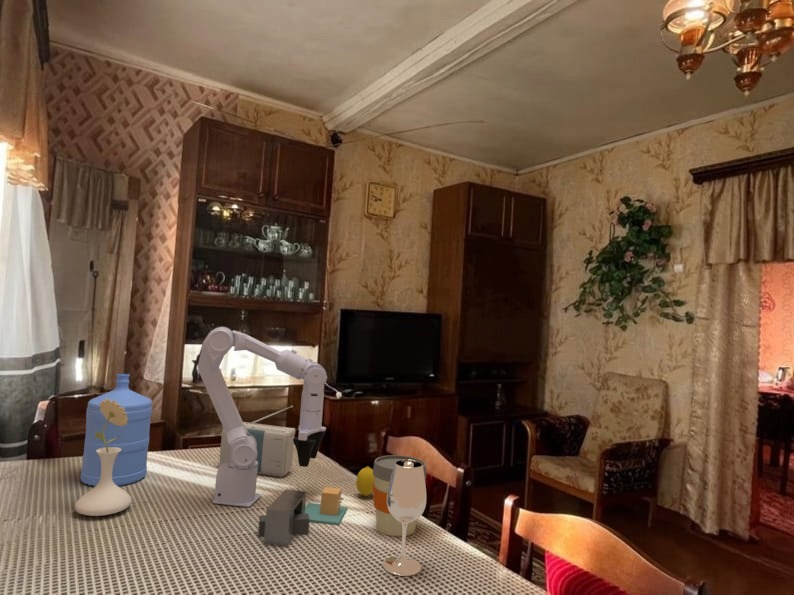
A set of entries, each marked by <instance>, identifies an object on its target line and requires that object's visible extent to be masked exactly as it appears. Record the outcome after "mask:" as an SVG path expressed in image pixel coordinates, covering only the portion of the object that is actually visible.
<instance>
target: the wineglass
mask: <svg viewBox="0 0 794 595" xmlns="http://www.w3.org/2000/svg"><path fill="white" fill-rule="evenodd" d="M426 485H427V484H426V479H425V477H424V470H423V464H422V463H421V462H418V461H414V460H398V461H396V462H395V464H394V468H393V471H392V475H391V478H390V482H389V486H388V492H387V507H388V510H389V512H390V514H391V515H392V516H393V517H394V518H395V519H396V520H397V521H399V522H401V523H402V536H401V550H400V551H401V552H400V555H395V556H390V557H388V558H386V559H384V560H383V561H382V567H383V569H384V571H386V572H387V573H389V574H392V575H395V576H400V577H410V576H415V575H417V574H418V573H420V572H421V571H422V565H421V563H420V562H419V561H418V560H416V559H414V558H412V557H410V556H406V539H407V536H406V530H407V526H408V523H411V522H413V521H415V520H416V519H417V520H418V519H419V518H420V517H421V516H422V515H423V513H424V511H425V509H426V505H427V488H426Z"/></svg>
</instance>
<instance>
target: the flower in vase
mask: <svg viewBox="0 0 794 595" xmlns="http://www.w3.org/2000/svg"><path fill="white" fill-rule="evenodd" d="M120 407H121V406H120V405H119V404H117V403H116V401H115V400H113V402H111V401H110V399H105V401H102V403H101V402H100V411H101V412H102V413H103V415H104V416H105V417H106V419H107V421H106V423H105V426H104V428H103V432H102V434H101V433H100V432H98V431H97V433H96V435H95V436H94V437H96V438H99V439H100V440H102V441H103V440H104V443H105V448H100V449H98V450H96V452H97V453H98V455H99V456H100V459H101V478H100V481H99V483H98V484H97V485H96V486H93V488H91V489H90V490H88V491H87V492H86V493H85V494H83V495H82V496H81V497H80V498H79V499H77V501H76V502H75V505H74V509H75V511H76V512H77V513H78V514H81V515H84V516H92V517H99V516H108V515H112V514H116V513H119V512H122V511H124V510H125V509H128V507H130V505H131V504H132V502H133V500H132V499H133V498H132V496H131V495H130V494H129V493H128V492H127V491H125V490H124V489H122V487H121V486H117V485H115V484H114V482H113V480H112V470H113V465H114V461H115V458H116V456H117V455H118V453H119V452H120V451H121V448H117V447H107V443H109V442H111V441H113V440H115V439H116V438H114V439H112V440H110V441H108V442H107V443H106V441H105V438H104V430H105V427H106V425H107V423H108V421H110V422H111V423H114V424H115V425H116V426H120V427H121V426H124V425H127V420H128V418H127V414H126V413H125V412H124V411H125V409H124V408H120ZM118 437H119V436H118ZM118 437H117V438H118Z"/></svg>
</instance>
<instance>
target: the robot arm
mask: <svg viewBox="0 0 794 595" xmlns="http://www.w3.org/2000/svg"><path fill="white" fill-rule="evenodd" d="M203 340H204V341H203V342H202V345H201V350H200V355H199V359H198V364H197V371H198V373H199V376H200V377H201V380H202V382H203V384H204V387H205V389H206V391H207V394H208V395H209V399H210V401H211V403H212V405H213V407H214V410H215V412H216V414H217V416H218V418H219V421H220V423H221V425H222V429H223V428H224V430H225V432H226V435H227V439H228V443H229V446H230V448H231V460H230V461H229V462H228V463H222V464H221V465H220V464H219V467H218V469H217V472H216V476H215V485H214V486H215V487H214V500H212V504H217V505H226V506H237V507H245V508H250V507H251V506H252V505H253V504H255V503H256V502H257V501H258V500H259V498H261V497H262V495H261V494H260V493H256V492H257V491H256V490H257V479H258V473H257V469H258V462H257V461H256V459H257V442H256V439H255V438H254V437H253V436H252V435H250V434H249V432H248V431H247V428H246V427H245V425H244V423H243V422H244V421H243V419H242V417H241V415H240V412H239V409H238V407H237V405H236V403H235V401H234V399H233V396H232V394H231V392H230V389H229V387H228V385H227V383H226V380H225V377H224V375H223V373H222V371H221V368H220V366H221V363H222V361H223V359H224V358H225V355H226V354H228V352H230V350H231V349H232V347H234V348H233V351H234V352H239V351H240V352H241V351H247V352H250V353H252V354H254V355H256V356H259V357H261V358H263V359H266V360H268V361H270V362H273V363H274V364H275V369H276V370H277V371H279V372H282V373H284V374H286V375H288V376H290V377H292V378H295V379H296V380H303V383H302V384H303V386H302V392H301V400H300V401H301V402H300V415H299V425H298V436H294V438H293V442H294V446H295V449H296V453H297V459H298V460H297V461H298V466H299V467H305V468H307V467H309V464H310V461H311V459H316V458H317V455H318V453H319V451H318V450H319V448H320V444H321V442H322V440H323V437H324V436H325V434H326V430H327V427H326V426H322V423H323V412H324V411H323V410H324V397H325V392H324V390H325V384H326V382H327V380H328V376H327V371H326V369H325V368H324V366H322V365H321V364H319V363H318V362H317V361H314V360H313V359H312V358H306V357H304V356H302V355H299V354H298V353H297V351H296V350H294V349H291V350H290V349H285V350H281V351H280V350H277V349H276V348H274V347H273V346H270V345H268V344H266V343H264V342H262V341H261V340H258V339H257V338H255V337H252V336H250V335H248V334H246V333H243V332H240V331H238V330H232V329H230V328H229V327H226V326H217V327H215V328H214V329H212V330H211V331H210V332H208V334H207V335H206V337H205V338H204V339H203Z"/></svg>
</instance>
